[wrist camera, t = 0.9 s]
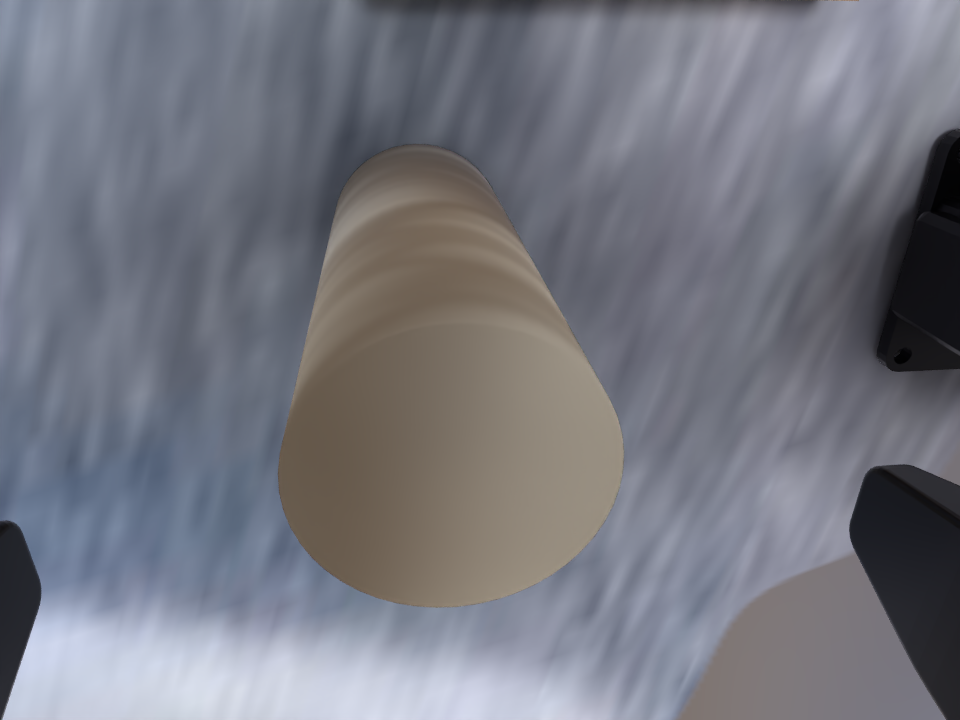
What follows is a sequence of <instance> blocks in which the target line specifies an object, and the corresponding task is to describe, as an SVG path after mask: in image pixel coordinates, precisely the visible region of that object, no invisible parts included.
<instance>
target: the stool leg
mask: <svg viewBox="0 0 960 720" xmlns="http://www.w3.org/2000/svg"><path fill="white" fill-rule="evenodd" d="M623 464H624V446H623V437H622V431H621V428H620V424H619V421H618V417H617V414H616V412H615V410H614V408H613V406H612V403H611V401H610V399H609V397H608V395H607V394H606V392H605V390H604V388H603V386H602V385H601V383H600V381H599V379H598V377H597V376H596V374H595V372H594V370H593V368H592V367H591V365H590V363H589V361H588V360H587V358H586V356H585V354H584V352H583V351H582V349H581V347H580V345H579V343H578V342H577V340H576V338H575V336H574V334H573V333H572V331H571V329H570V327H569V325H568V324H567V322H566V320H565V318H564V317H563V315H562V313H561V311H560V309H559V308H558V306H557V304H556V302H555V300H554V299H553V297H552V295H551V293H550V291H549V290H548V288H547V286H546V284H545V282H544V281H543V279H542V277H541V275H540V273H539V272H538V270H537V268H536V266H535V265H534V263H533V261H532V259H531V257H530V256H529V254H528V252H527V250H526V248H525V247H524V245H523V243H522V241H521V239H520V238H519V236H518V234H517V232H516V230H515V229H514V227H513V225H512V223H511V222H510V220H509V218H508V216H507V214H506V213H505V211H504V209H503V207H502V205H501V204H500V202H499V200H498V198H497V196H496V195H495V193H494V191H493V189H492V187H491V186H490V184H489V183H488V181H487V180H486V178H485V177H484V176H483V174H482V173H481V172H480V171H479V170H478V169H477V168H476V167H475V166H474V165H473V164H472V163H470V162H469V161H468V160H466V159H465V158H463V157H462V156H460V155H458V154H456V153H454V152H452V151H450V150H447V149H444V148H441V147H438V146H432V145H426V144H410V145H402V146H397V147H393V148H390V149H388V150H385V151H382V152H380V153H379V154H377V155H375V156H373V157H371V158H370V159H369V160H367V161H366V162H364V163H363V164H362V165H361V166H360V167H359V168H358V169H357V170H356V171H355V172H354V173H353V174H352V176H351V177H350V178H349V179H348V181H347V183H346V184H345V186H344V188H343V190H342V192H341V194H340V197H339V199H338V203H337V206H336V210H335V215H334V219H333V223H332V228H331V232H330V237H329V241H328V245H327V250H326V254H325V258H324V263H323V267H322V272H321V276H320V280H319V285H318V289H317V293H316V298H315V302H314V307H313V311H312V315H311V320H310V324H309V328H308V333H307V337H306V342H305V346H304V350H303V355H302V359H301V363H300V368H299V372H298V377H297V381H296V385H295V390H294V394H293V398H292V403H291V407H290V411H289V416H288V420H287V425H286V429H285V433H284V438H283V442H282V446H281V451H280V457H279V467H278V482H279V493H280V498H281V502H282V506H283V510H284V513H285V515H286V518H287V520H288V523H289V525H290V528H291V529H292V531H293V532H294V534H295V536H296V537H297V539H298V541H299V542H300V544H301V545H302V546H303V547H304V549H305V550H306V551H307V552H308V554H309V555H310V556H311V557H312V558H313V559H314V560H315V561H316V562H317V563H318V564H319V565H320V566H322V567H323V568H324V569H325V570H326V571H327V572H329V573H330V574H332V575H333V576H335V577H336V578H337V579H339V580H340V581H342V582H344V583H345V584H347V585H349V586H351V587H353V588H355V589H357V590H359V591H361V592H364V593H366V594H369V595H371V596H374V597H376V598H380V599H383V600H387V601H391V602H394V603H399V604H405V605H411V606H420V607H436V608H437V607H459V606H466V605H474V604H479V603H484V602H488V601H492V600H497V599H500V598H503V597H506V596H509V595H512V594H515V593H517V592H519V591H522V590H524V589H526V588H528V587H531V586H533V585H535V584H537V583H538V582H540V581H542V580H544V579H545V578H547V577H549V576H551V575H552V574H554V573H555V572H556V571H558V570H559V569H561V568H562V567H563V566H565V565H566V564H568V563H569V562H570V561H571V560H572V559H573V558H574V557H575V556H576V555H578V554H579V553H580V552H581V551H582V550H583V549H584V548H585V547H586V545H587V544H588V543H589V542H590V541H591V540H592V539H593V538H594V536H595V535H596V533H597V532H598V531H599V529H600V528H601V526H602V525H603V523H604V522H605V520H606V518H607V516H608V514H609V513H610V511H611V509H612V507H613V505H614V502H615V499H616V496H617V494H618V491H619V488H620V483H621V478H622V473H623Z"/></svg>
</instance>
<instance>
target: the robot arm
mask: <svg viewBox="0 0 960 720" xmlns="http://www.w3.org/2000/svg"><path fill="white" fill-rule="evenodd" d="M959 149H960V129H958V130H954V131H952V132H951V133H949V134H948V135H946V136H945V137H944V139H943V140H942V141H941V142H940V144H939V146H938V148H937V151H936V154H935V157H934V161H933V164H932V167H931V171H930V174H929V178H928V181H927V184H926V188H925V191H924V194H923V198H922V201H921V205H920V208H919V211H918V215H917V218H916V221H915V225H914V228H913V231H912V235H911V238H910V242H909V245H908V248H907V252H906V255H905V258H904V262H903V265H902V269H901V272H900V275H899V279H898V282H897V285H896V289H895V292H894V296H893V299H892V302H891V306H890V309H889V312H888V316H887V319H886V323H885V326H884V329H883V333H882V336H881V339H880V343H879V346H878V350H877V358H878V361H879V362H881V363H882V364H883V365H885V366H886V367H887V368H889V369H890V370H891V371H896V372H903V371H923V370H943V369H960V157H959V158H958V159H957V153H958V151H959ZM900 349H902V351H901V352H900V354H898V355H897V356H896V357H894V356H895V354H896V352H897V351H899V350H900ZM849 532H850V539H851V542H852V545H853V548H854V550H855V552H856V554H857V556H858V558H859V560H860V562H861V564H862V566H863V568H864V569H865V572H866V574H867V576H868V577H869V580H870V582H871V584H872V586H873V588H874V590H875V592H876V594H877V596H878V598H879V600H880V602H881V604H882V605H883V608H884V610H885V611H886V614H887V616H888V618H889V620H890V622H891V624H892V625H893V627H894V630H895V632H896V634H897V635H898V637H899V639H900V641H901V643H902V645H903V647H904V649H905V651H906V653H907V655H908V657H909V659H910V661H911V662H912V664H913V666H914V668H915V670H916V672H917V673H918V675H919V676H920V678H921V680H922V682H923V683H924V685H925V687H926V688H927V690H928V692H929V693H930V695H931V696H932V698H933V700H934V701H935V703H936V705H937V706H938V708H939V709H940V711H941V712H942V714H943V716H944V717H945V719H946V720H960V486H959V485H957V484H954V483H952V482H949V481H947V480H945V479H942V478H940V477H938V476H935V475H933V474H931V473H928V472H926V471H924V470H921V469H919V468H917V467H914V466H911V465H905V464H903V465H886V466H876V467H873V468H871V469H870V470H869V471H868V472H867V473H866V474H865V477H864V479H863V482H862V485H861V488H860V492H859V495H858V498H857V501H856V504H855V508H854V511H853V514H852V517H851V520H850V527H849ZM40 601H41V583H40V579H39V576H38V573H37V571H36V568H35V565H34V563H33V560H32V557H31V554H30V552H29V549H28V546H27V544H26V541H25V538H24V535H23V533H22V531H21V529H20V528H19V526H18V525H17V524H15V523H14V522H11V521H6V520H5V521H0V720H2V718H3V715H4V712H5V709H6V706H7V703H8V700H9V697H10V694H11V691H12V688H13V685H14V682H15V679H16V676H17V673H18V670H19V667H20V664H21V661H22V658H23V655H24V652H25V649H26V646H27V643H28V640H29V637H30V634H31V631H32V628H33V624H34V621H35V618H36V615H37V612H38V609H39V606H40Z"/></svg>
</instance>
